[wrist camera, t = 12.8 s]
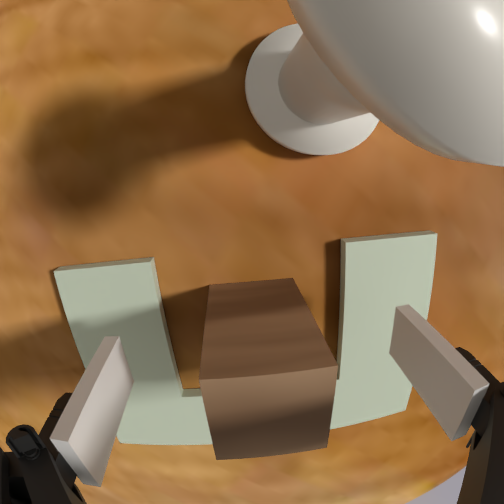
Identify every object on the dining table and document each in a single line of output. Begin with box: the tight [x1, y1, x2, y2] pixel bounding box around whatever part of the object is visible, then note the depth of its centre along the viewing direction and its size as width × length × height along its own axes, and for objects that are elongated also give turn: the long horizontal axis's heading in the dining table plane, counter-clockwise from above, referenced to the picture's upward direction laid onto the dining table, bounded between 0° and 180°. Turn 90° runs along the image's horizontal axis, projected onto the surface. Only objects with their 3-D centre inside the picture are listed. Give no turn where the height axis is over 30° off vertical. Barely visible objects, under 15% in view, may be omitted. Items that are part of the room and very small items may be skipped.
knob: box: [245, 0, 504, 166], centre depth 9 cm, size 7×7×12 cm
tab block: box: [199, 278, 338, 460], centre depth 14 cm, size 4×4×8 cm
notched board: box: [54, 231, 437, 445], centre depth 18 cm, size 14×22×1 cm, turn 95°
